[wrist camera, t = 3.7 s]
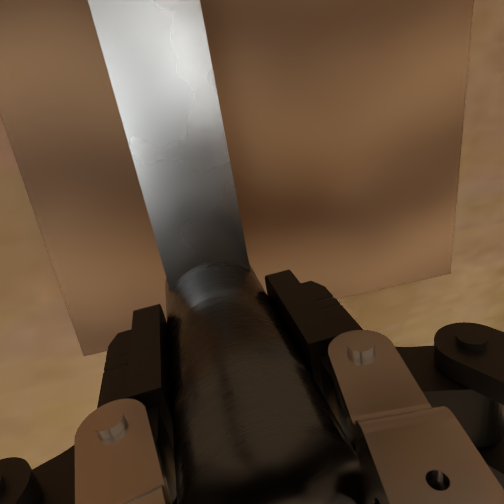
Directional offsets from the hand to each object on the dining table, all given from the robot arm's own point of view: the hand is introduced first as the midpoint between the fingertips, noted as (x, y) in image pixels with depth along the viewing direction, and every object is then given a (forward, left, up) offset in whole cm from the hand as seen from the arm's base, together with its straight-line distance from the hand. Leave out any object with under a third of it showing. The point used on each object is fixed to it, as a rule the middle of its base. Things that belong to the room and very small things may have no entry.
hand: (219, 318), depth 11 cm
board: (-9, +3, -7) cm, 12 cm away
